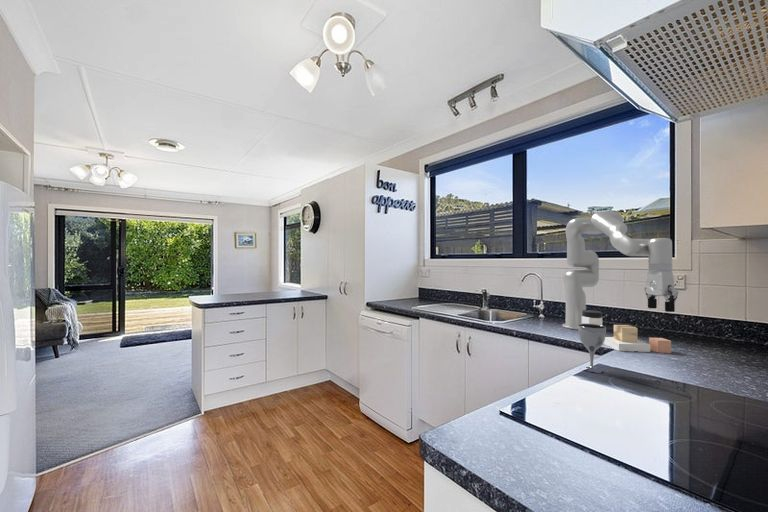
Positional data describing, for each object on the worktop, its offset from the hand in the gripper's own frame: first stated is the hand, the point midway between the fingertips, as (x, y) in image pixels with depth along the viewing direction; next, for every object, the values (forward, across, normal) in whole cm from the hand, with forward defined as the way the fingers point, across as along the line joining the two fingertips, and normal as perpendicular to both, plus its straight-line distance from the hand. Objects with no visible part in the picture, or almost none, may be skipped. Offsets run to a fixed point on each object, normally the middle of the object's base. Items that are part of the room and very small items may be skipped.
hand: (660, 309), depth 135 cm
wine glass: (+17, +27, -41) cm, 52 cm away
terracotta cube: (+17, 0, 0) cm, 17 cm away
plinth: (+17, -4, -11) cm, 21 cm away
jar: (+17, -26, -14) cm, 34 cm away
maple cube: (+14, -4, -11) cm, 18 cm away
